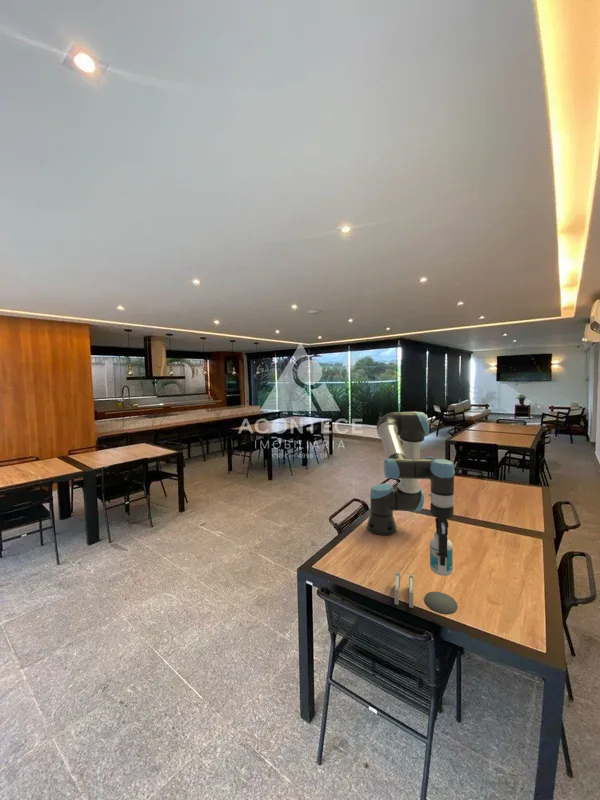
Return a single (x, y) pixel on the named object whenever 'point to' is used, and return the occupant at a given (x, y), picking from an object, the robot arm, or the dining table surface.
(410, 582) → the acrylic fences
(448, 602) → the coaster
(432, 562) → the pill bottle
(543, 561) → the dining table surface
